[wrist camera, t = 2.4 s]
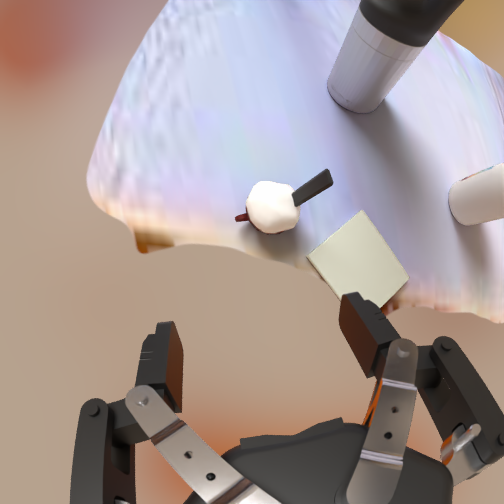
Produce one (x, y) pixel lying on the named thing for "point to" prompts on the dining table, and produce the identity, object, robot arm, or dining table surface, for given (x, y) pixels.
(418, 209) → the dining table surface
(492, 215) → the milk bottle
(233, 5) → the dining table surface
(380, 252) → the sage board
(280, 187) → the cocoa
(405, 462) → the robot arm
